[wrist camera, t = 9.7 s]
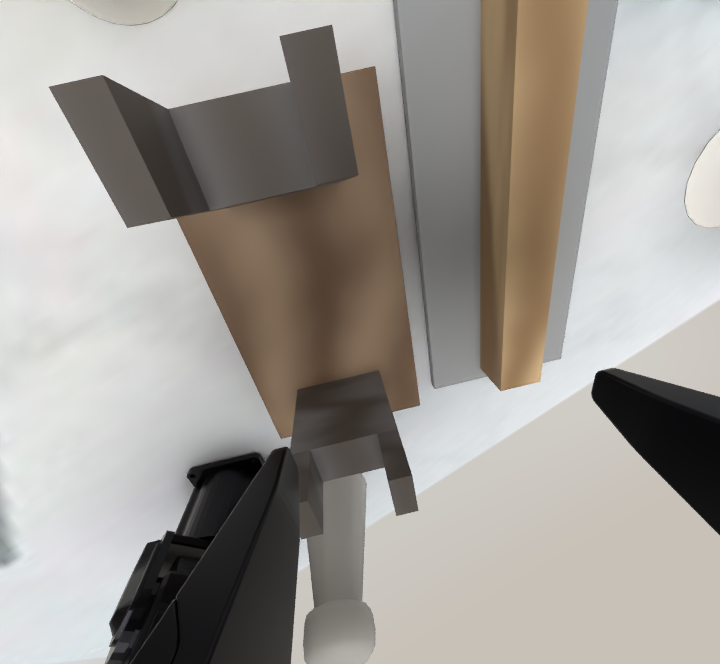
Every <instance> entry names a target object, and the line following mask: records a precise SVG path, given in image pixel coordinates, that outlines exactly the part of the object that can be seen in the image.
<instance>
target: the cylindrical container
mask: <svg viewBox="0 0 720 664" xmlns="http://www.w3.org/2000/svg"><path fill="white" fill-rule="evenodd" d="M70 1H71V2H72V3H74V4H75V5H76V6H78V7H79V8H81V9H83V10H84V11H86V12H88V13H90V14H92V15H93V16H95V17H98V18H100V19H103V20H106V21H109V22H112V23H116V24H124V25H138V24H144V23H149V22H151V21H153V20H155V19H157V18H159V17H161V16H163V15H164V14H165V13H166V12H167V11H168V10H169V9H170V8H171V7H173V6H174V4H175V3H176V1H177V0H70Z"/></svg>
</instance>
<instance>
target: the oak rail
mask: <svg viewBox="0 0 720 664" xmlns="http://www.w3.org/2000/svg"><path fill="white" fill-rule="evenodd" d="M587 8H588V0H481V185H480V368H481V369H482V371H483V372H484V373H485V374H486V375H487V376H488V377H489V379H490V380H491V381H492V382H493V383H494V384H495V385H496V386H497V388H498V389H499V390H500V391H503V390H507V389H511V388H516V387H520V386H524V385H528V384H532V383H536V382H540V379H541V371H542V363H543V355H544V347H545V339H546V331H547V324H548V316H549V308H550V300H551V292H552V284H553V276H554V268H555V260H556V253H557V245H558V237H559V229H560V221H561V213H562V205H563V197H564V189H565V182H566V174H567V166H568V158H569V150H570V142H571V134H572V126H573V118H574V111H575V103H576V95H577V87H578V79H579V71H580V63H581V55H582V47H583V40H584V32H585V24H586V16H587Z"/></svg>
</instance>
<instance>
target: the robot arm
mask: <svg viewBox="0 0 720 664" xmlns="http://www.w3.org/2000/svg"><path fill="white" fill-rule="evenodd" d="M591 394H592V398H593V400H594V402H595V403H596V404H597V405H598V407H599V408H600V409H601V410H602V411H603V413H604V414H605V415H606V416H607V417H608V418H609V420H610V421H611V422H612V423H613V425H614V426H615V427H616V428H617V429H618V430H619V432H620V433H621V434H622V435H623V436H624V438H625V439H626V440H627V441H628V442H629V443H630V445H631V446H632V447H633V448H634V449H635V450H636V451H637V452H638V453H639V454H640V455H641V456H642V458H643V459H644V460H645V461H647V463H648V464H649V465H650V466H651V467H652V468H654V469H655V471H656V472H657V473H658V474H659V475H661V477H662V478H663V479H664V480H665V481H666V482H667V483H668V484H669V485H670V486H671V487H672V488H673V489H674V490H675V491H676V492H677V493H678V494H679V495H680V496H681V497H682V498H683V499H684V500H685V501H686V502H687V503H688V504H689V505H690V506H691V507H692V508H693V509H694V510H695V511H696V512H697V513H698V514H699V515H700V516H701V517H702V518H703V519H704V520H705V521H706V522H707V523H708V524H709V525H710V526H711V527H712V528H713V529H714V530H715V531H716V532H717V533H718V534H719V535H720V397H718V396H715V395H711V394H707V393H704V392H700V391H696V390H693V389H689V388H685V387H682V386H678V385H674V384H671V383H667V382H664V381H660V380H656V379H653V378H649V377H646V376H642V375H638V374H635V373H631V372H627V371H624V370H620V369H616V368H610V369H605V370H601V371H598V372H597V373H596V375H595V379H594V383H593V387H592V392H591ZM254 459H255V460H254ZM187 478H188V479H189V480H190V482H191V483H192V484H193V486H194V487H195V488H194V490H193V493H192V495H191V497H190V500H189V502H188V504H187V507H186V509H185V511H184V514H183V516H182V518H181V521H180V523H179V525H178V528H177V530H176V532H172V531H166V533H165V535H164V536H163V538H162V540H158V541H154V542H150V543H147V545H146V546H145V548H144V550H143V552H142V554H141V556H140V558H139V560H138V562H137V564H136V567H135V569H134V571H133V573H132V575H131V577H130V579H129V581H128V583H127V585H126V587H125V590H124V592H123V594H122V596H121V598H120V601H119V603H118V605H117V607H116V609H115V612H114V614H113V616H112V618H111V620H110V623H109V625H110V628H111V632H112V636H113V637H112V640H111V642H110V645H109V647H111V649H110V651H109V654H108V656H107V659H106V662H105V664H291V652H292V638H293V624H294V611H295V598H296V597H295V596H296V584H297V570H298V556H299V543H300V505H299V473H298V467H297V464H296V462H295V460H294V458H293V455H292V453H291V451H290V449H289V448H288V447H283V448H279V449H275V450H273V451H272V452H271V454H270V455H269V457H268V458H267V460H266V461H265V463H264V462H263V460H262V458H261V457H260V455H258V454H250V455H246V456H242V457H238V458H234V459H230V460H226V461H221V462H217V463H213V464H209V465H205V466H201V467H197V468H192V469H190V470H189V472H188V474H187Z"/></svg>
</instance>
